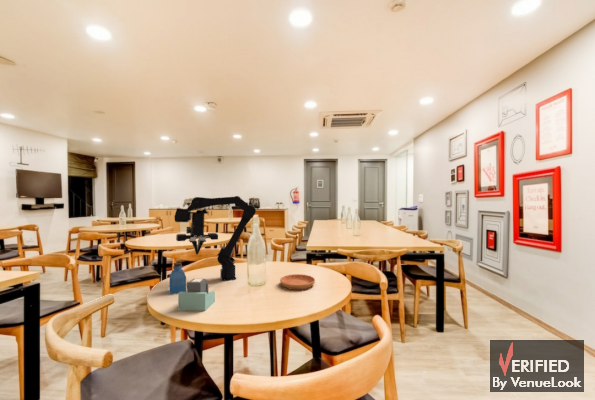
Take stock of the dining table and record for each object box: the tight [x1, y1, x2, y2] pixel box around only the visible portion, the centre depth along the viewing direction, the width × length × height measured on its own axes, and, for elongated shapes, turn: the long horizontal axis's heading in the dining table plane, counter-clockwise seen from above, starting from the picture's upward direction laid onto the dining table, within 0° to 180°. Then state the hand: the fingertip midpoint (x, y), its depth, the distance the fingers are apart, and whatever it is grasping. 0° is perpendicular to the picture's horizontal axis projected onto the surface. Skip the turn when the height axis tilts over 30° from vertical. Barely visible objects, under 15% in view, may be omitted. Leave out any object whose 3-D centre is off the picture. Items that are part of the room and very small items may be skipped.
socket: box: [177, 290, 216, 312], centre depth 95 cm, size 9×10×6 cm
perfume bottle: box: [169, 261, 187, 295], centre depth 111 cm, size 6×6×12 cm
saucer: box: [279, 273, 316, 291], centre depth 119 cm, size 16×16×3 cm
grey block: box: [186, 278, 209, 294], centre depth 95 cm, size 6×6×9 cm
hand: (196, 254), depth 127 cm, fingers closed
